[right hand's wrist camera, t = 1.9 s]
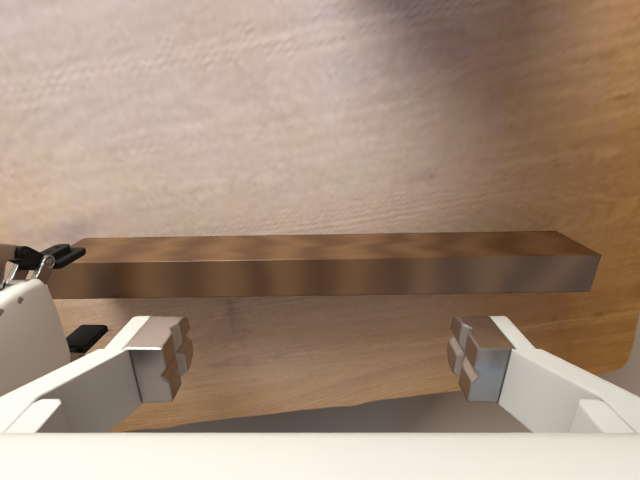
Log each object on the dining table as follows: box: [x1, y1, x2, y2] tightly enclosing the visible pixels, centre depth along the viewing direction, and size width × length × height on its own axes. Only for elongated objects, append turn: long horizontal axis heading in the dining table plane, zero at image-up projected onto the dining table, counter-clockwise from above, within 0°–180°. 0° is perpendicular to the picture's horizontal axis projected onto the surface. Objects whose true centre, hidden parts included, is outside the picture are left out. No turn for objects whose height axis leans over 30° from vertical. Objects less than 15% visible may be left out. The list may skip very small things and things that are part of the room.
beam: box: [47, 231, 601, 299], centre depth 43 cm, size 63×5×8 cm, turn 91°
